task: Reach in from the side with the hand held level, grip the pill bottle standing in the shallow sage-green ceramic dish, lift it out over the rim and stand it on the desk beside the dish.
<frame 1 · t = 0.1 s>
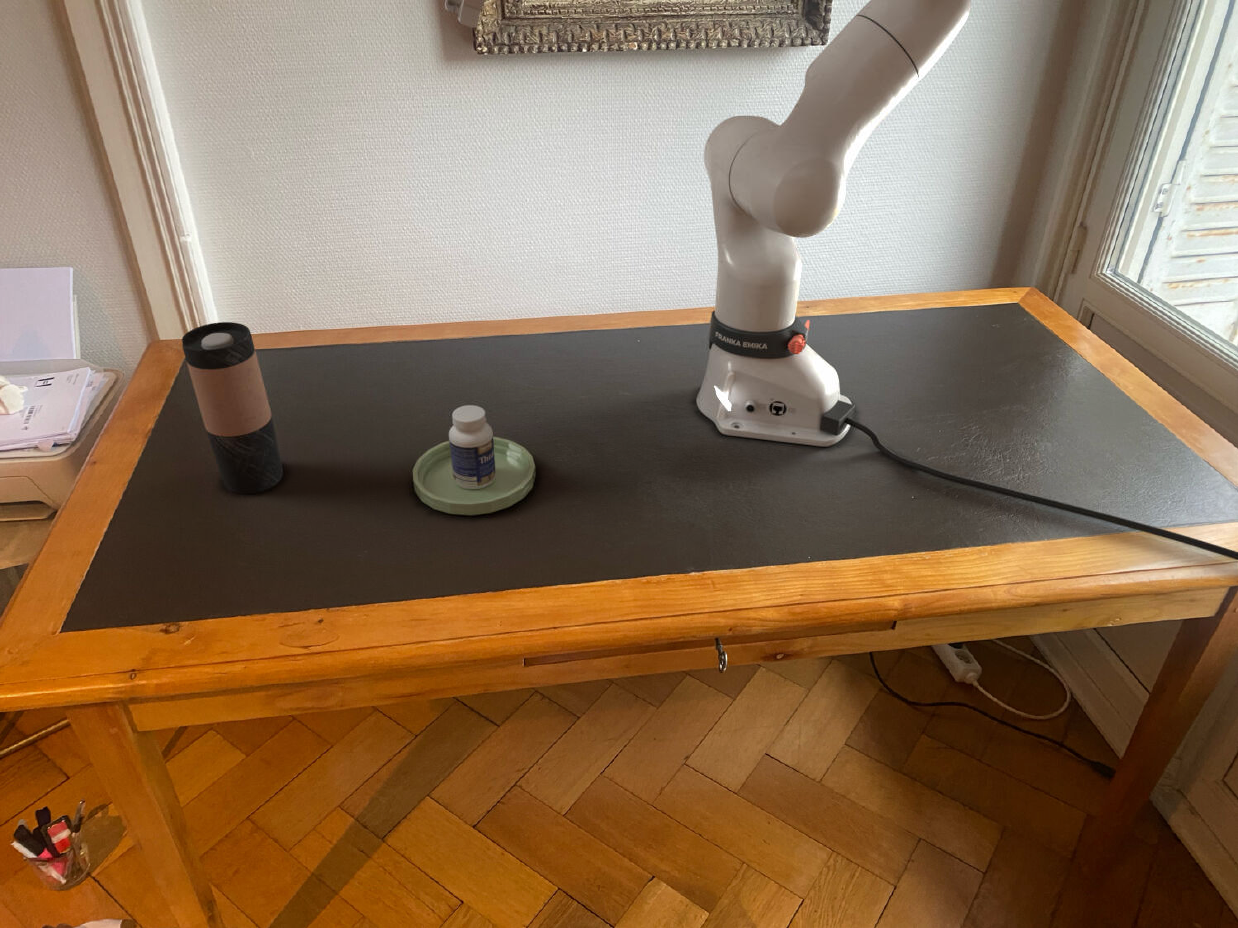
hand: (459, 19, 92), 52 cm above the table, tool tilted 20°, fingers open, 8 cm apart
dish: (475, 480, 113), on the table
pill bottle: (475, 480, 113), resting on dish
travel mug: (254, 479, 113), on the table
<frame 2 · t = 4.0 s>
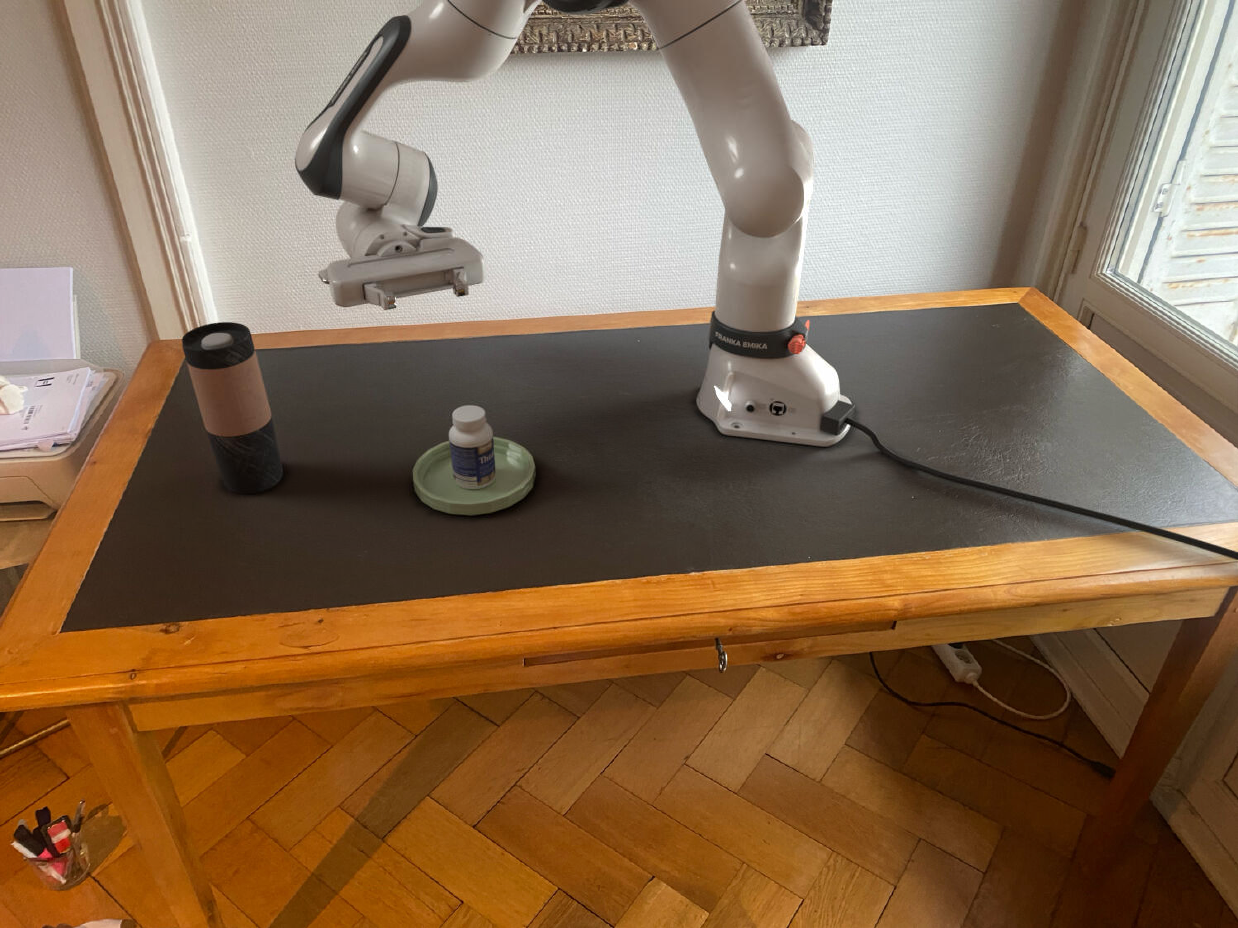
hand: (427, 297, 110), 21 cm above the table, tool horizontal, fingers open, 8 cm apart
nothing on the table moved.
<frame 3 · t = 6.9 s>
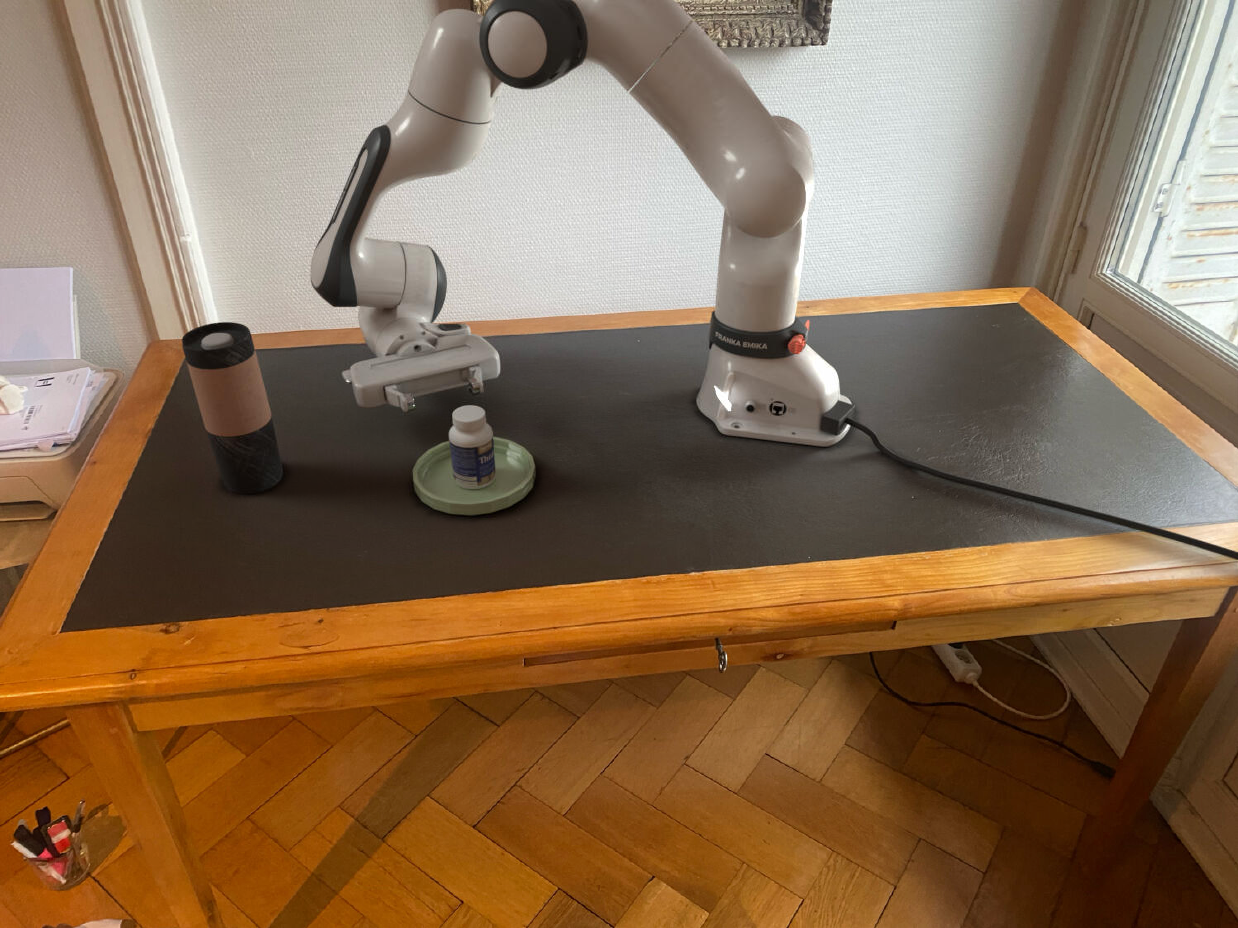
hand: (444, 397, 116), 7 cm above the table, tool horizontal, fingers open, 8 cm apart
nothing on the table moved.
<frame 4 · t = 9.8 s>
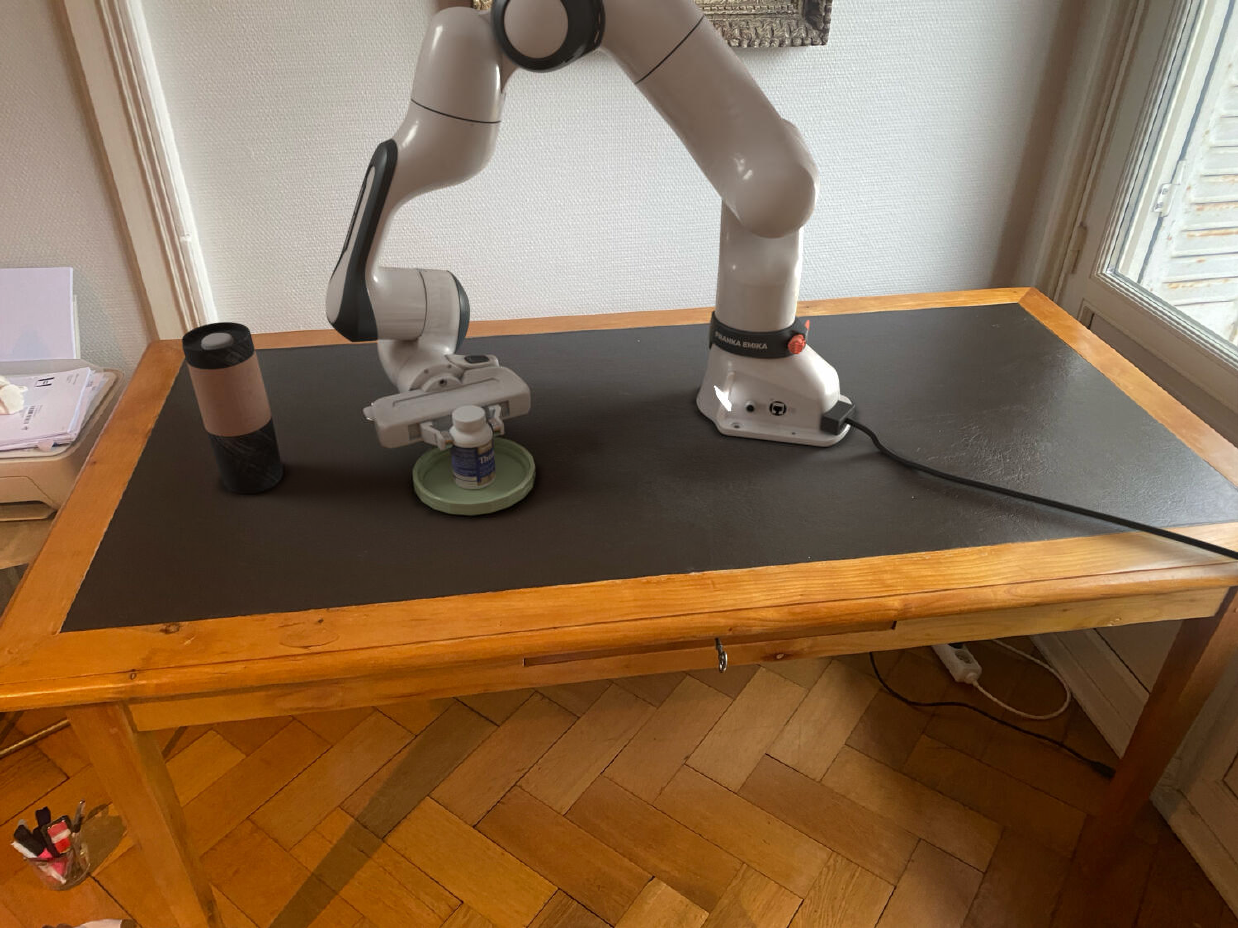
hand: (473, 437, 108), 7 cm above the table, tool horizontal, fingers closed on pill bottle, 5 cm apart
pill bottle: (475, 480, 113), resting on dish, touching gripper
everything else where it was.
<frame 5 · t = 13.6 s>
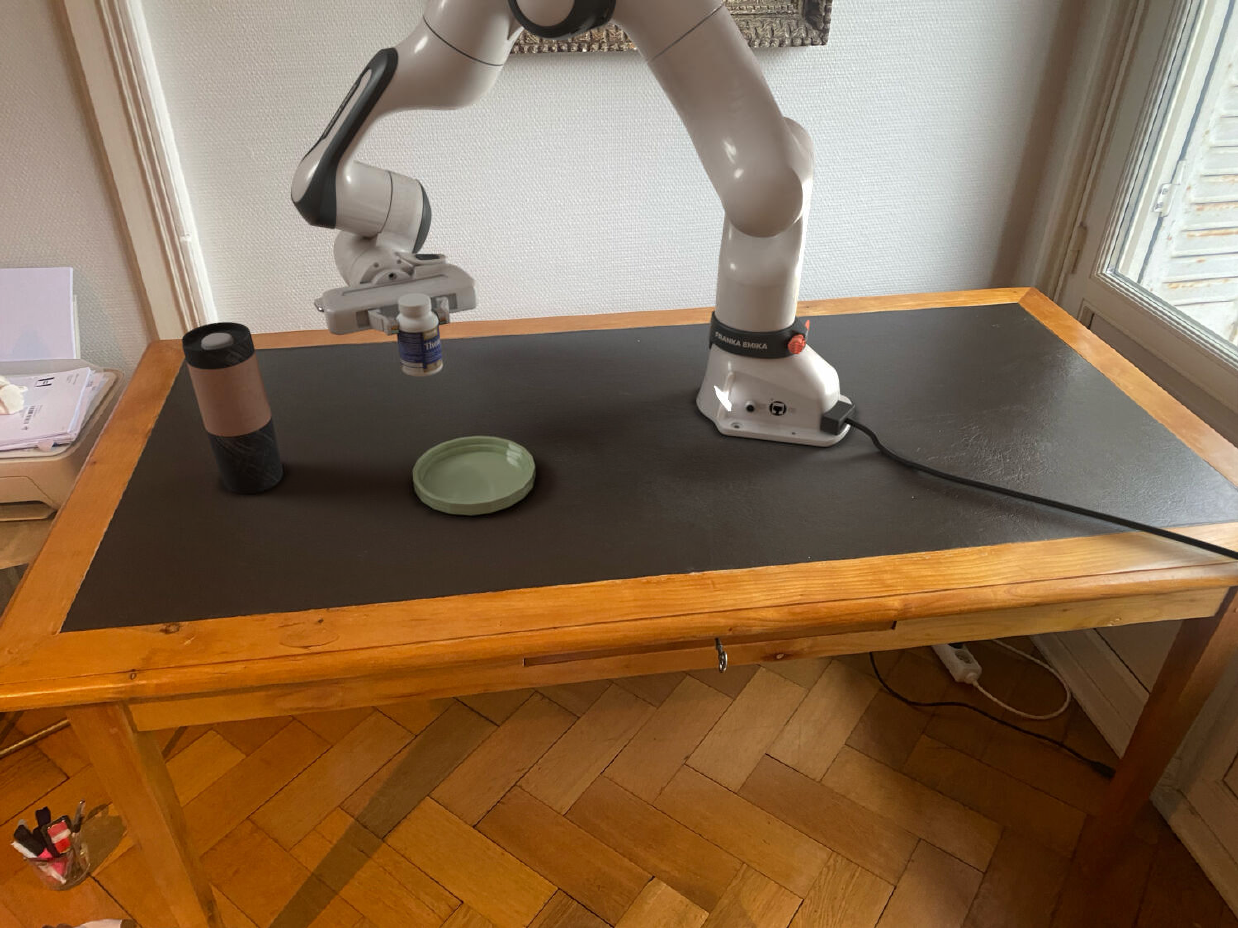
hand: (419, 324, 112), 17 cm above the table, tool horizontal, fingers closed on pill bottle, 5 cm apart
pill bottle: (422, 369, 116), point 10 cm above the table, touching gripper
everything else where it was.
when the fingers open (7 cm above the table, at t = 17.4 s): pill bottle stays where it is, on the table.
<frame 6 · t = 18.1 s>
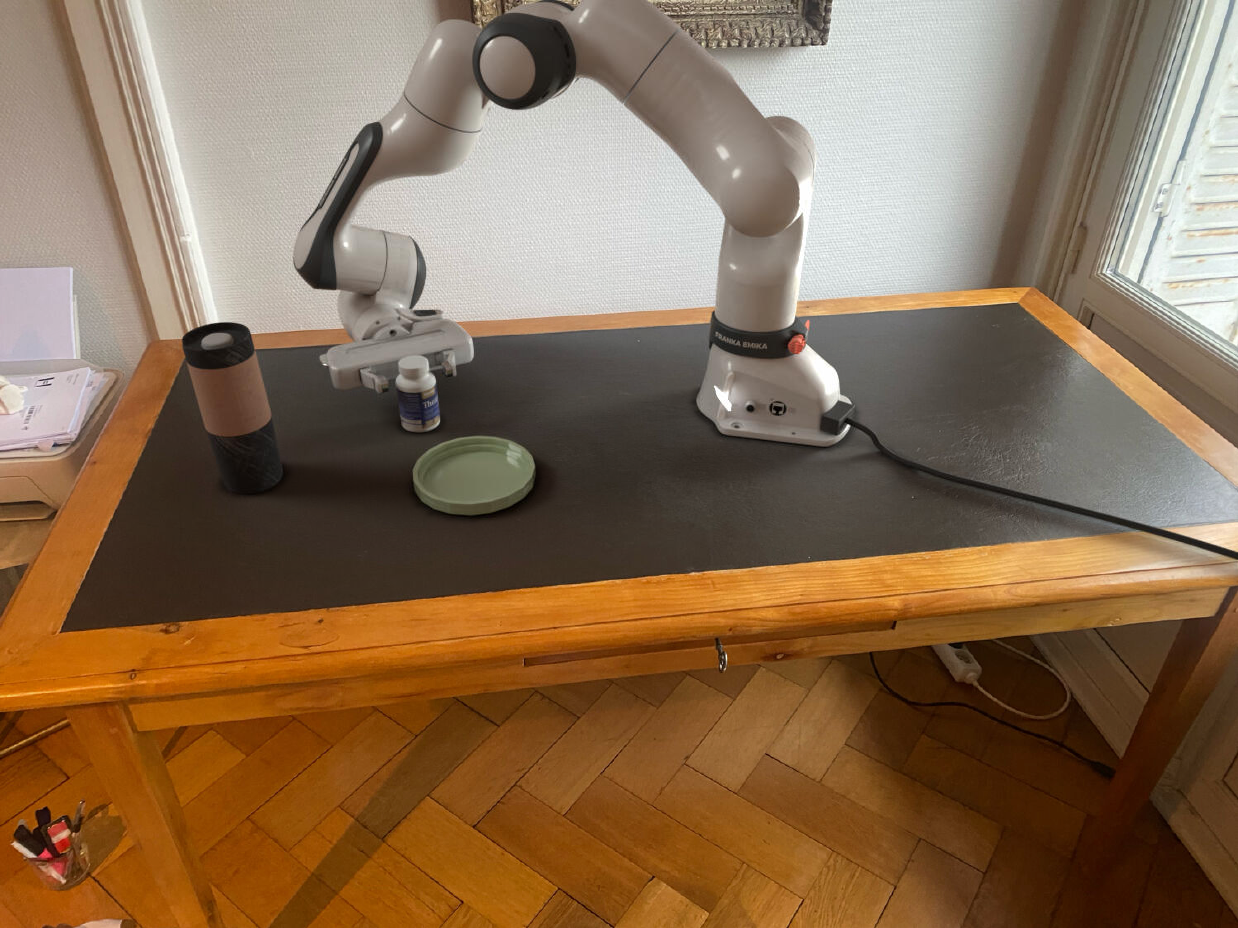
hand: (417, 380, 120), 7 cm above the table, tool horizontal, fingers open, 8 cm apart
pill bottle: (421, 424, 124), on the table
everything else where it was.
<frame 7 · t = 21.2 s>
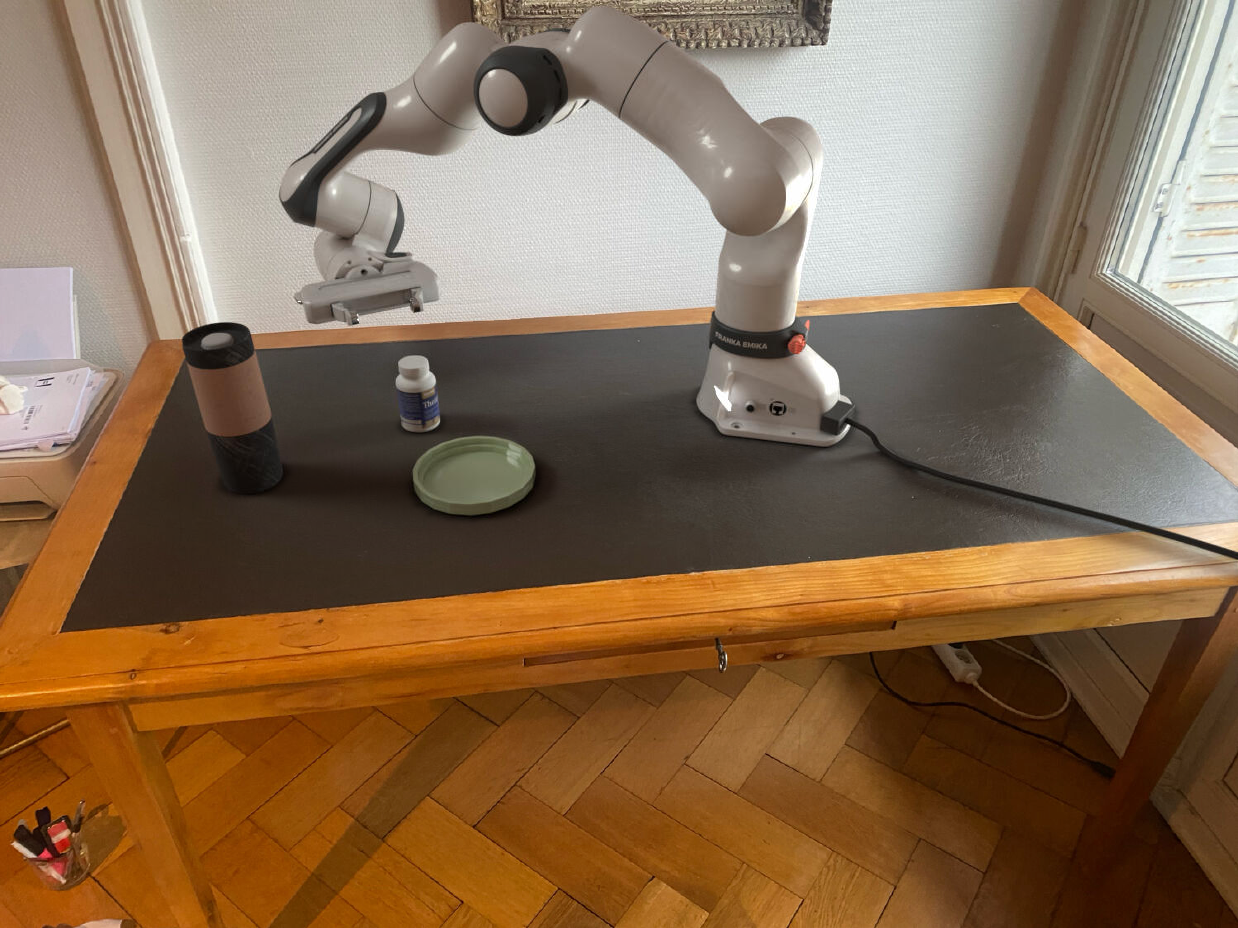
hand: (386, 313, 126), 12 cm above the table, tool horizontal, fingers open, 8 cm apart
nothing on the table moved.
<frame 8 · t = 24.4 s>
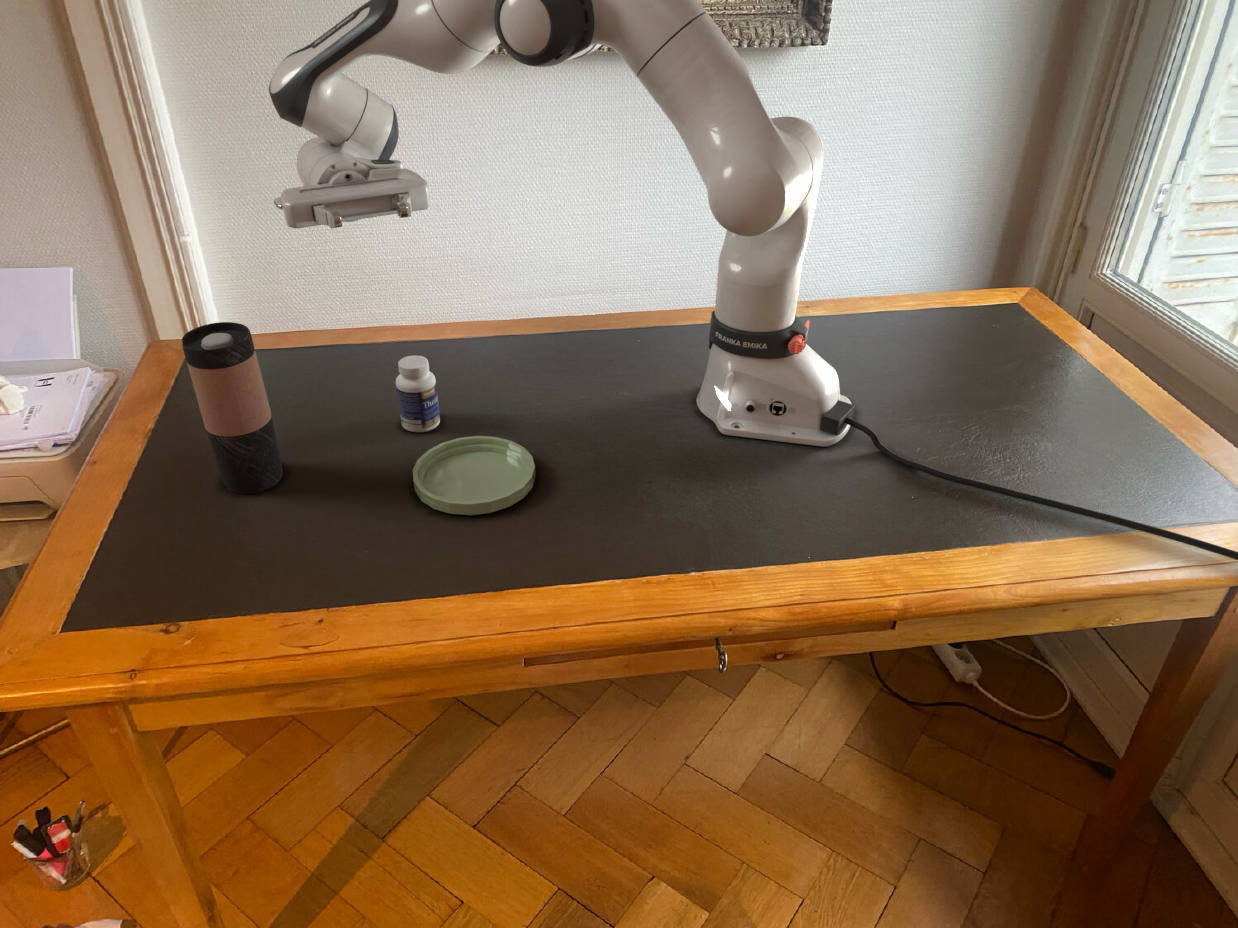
hand: (371, 217, 119), 26 cm above the table, tool horizontal, fingers open, 8 cm apart
nothing on the table moved.
at the end: pill bottle inside the target area (0.1 cm from its centre), on the table; pill bottle touching table; pill bottle tilted 0° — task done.
